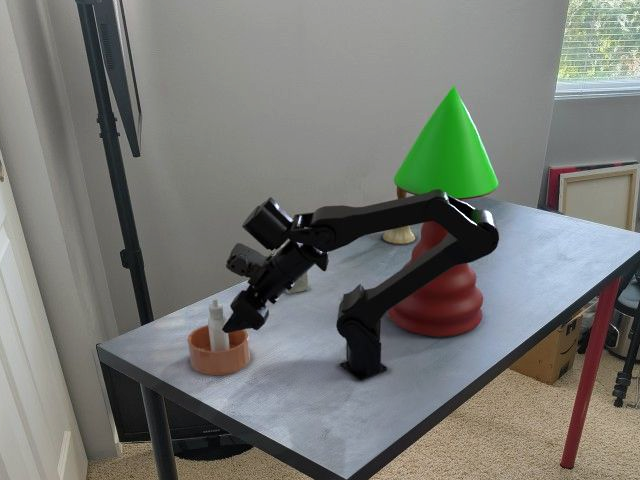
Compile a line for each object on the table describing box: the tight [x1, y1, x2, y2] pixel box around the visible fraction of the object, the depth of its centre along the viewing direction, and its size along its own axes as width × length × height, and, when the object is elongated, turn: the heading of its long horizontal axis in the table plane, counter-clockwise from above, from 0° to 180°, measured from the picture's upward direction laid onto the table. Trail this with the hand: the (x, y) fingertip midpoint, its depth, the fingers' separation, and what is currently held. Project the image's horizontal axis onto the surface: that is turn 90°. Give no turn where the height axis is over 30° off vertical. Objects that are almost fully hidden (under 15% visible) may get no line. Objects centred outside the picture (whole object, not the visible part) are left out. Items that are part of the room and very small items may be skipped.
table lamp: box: [387, 85, 499, 338], centre depth 140 cm, size 20×20×45 cm
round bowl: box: [187, 324, 251, 376], centre depth 136 cm, size 11×11×5 cm
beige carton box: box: [278, 243, 309, 295], centre depth 160 cm, size 5×4×10 cm
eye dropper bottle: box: [207, 298, 230, 351], centre depth 134 cm, size 4×6×12 cm
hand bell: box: [382, 186, 416, 245], centre depth 182 cm, size 8×8×16 cm
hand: (231, 318), depth 132 cm, fingers open, 9 cm apart
